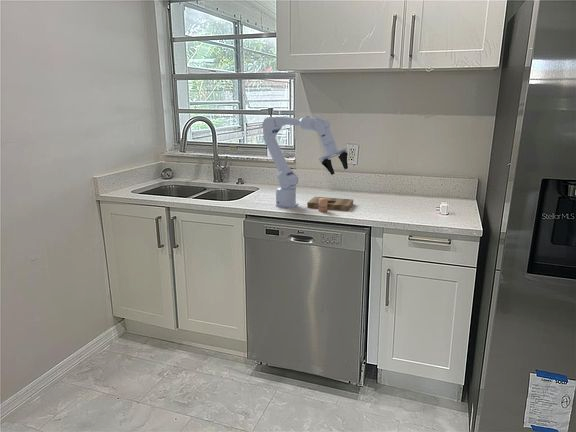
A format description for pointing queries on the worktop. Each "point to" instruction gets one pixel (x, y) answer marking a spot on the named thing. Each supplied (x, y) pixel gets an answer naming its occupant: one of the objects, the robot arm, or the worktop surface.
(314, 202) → the socket board
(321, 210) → the dowel
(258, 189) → the worktop surface
